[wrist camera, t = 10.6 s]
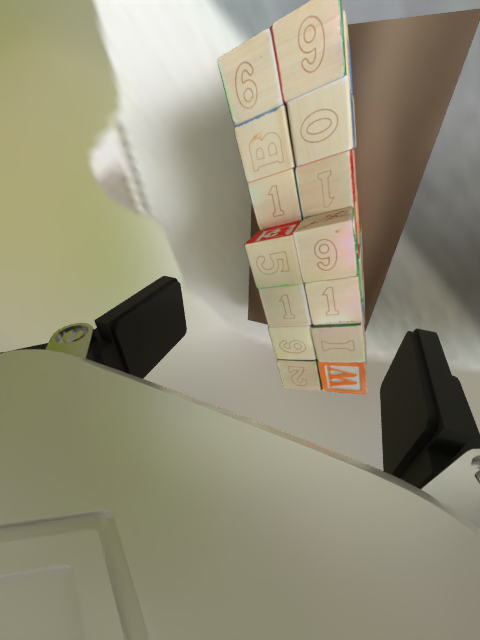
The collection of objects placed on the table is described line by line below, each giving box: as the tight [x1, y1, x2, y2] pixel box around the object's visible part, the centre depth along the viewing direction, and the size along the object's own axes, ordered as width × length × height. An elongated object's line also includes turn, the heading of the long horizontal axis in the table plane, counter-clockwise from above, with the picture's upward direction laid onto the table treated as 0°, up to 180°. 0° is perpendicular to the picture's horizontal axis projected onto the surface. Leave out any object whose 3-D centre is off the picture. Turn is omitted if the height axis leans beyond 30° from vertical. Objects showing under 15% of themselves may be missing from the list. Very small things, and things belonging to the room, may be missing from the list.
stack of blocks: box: [218, 0, 368, 394], centre depth 19 cm, size 21×6×12 cm, turn 17°
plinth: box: [248, 9, 480, 331], centre depth 26 cm, size 14×26×4 cm, turn 0°
